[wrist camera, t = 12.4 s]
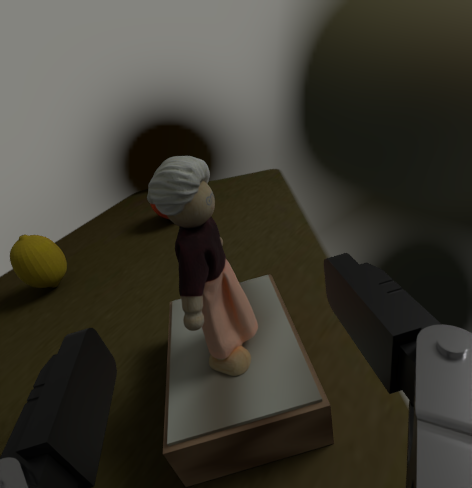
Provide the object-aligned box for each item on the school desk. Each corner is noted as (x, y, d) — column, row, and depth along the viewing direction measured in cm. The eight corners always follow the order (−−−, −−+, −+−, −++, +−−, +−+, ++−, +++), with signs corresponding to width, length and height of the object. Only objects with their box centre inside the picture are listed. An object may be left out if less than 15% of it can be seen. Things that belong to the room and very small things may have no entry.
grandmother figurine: (271, 384, 17) (217, 170, 11) (205, 398, 17) (113, 195, 11) (252, 296, 24) (211, 132, 17) (205, 307, 24) (147, 148, 17)
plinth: (185, 487, 17) (161, 451, 15) (184, 333, 28) (169, 299, 26) (333, 443, 18) (330, 402, 16) (277, 307, 28) (270, 272, 26)
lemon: (74, 290, 38) (40, 237, 34) (28, 306, 37) (-12, 254, 33) (79, 268, 43) (50, 219, 39) (39, 282, 42) (5, 233, 38)
